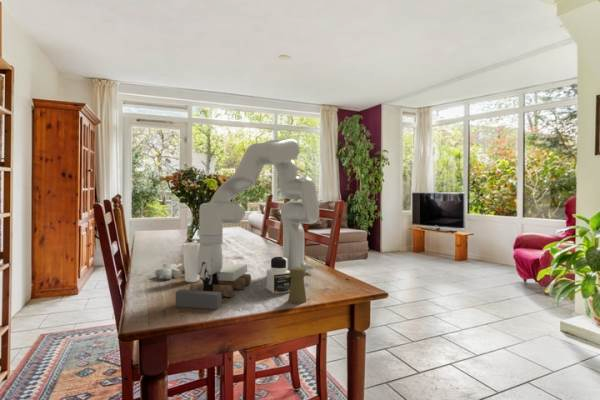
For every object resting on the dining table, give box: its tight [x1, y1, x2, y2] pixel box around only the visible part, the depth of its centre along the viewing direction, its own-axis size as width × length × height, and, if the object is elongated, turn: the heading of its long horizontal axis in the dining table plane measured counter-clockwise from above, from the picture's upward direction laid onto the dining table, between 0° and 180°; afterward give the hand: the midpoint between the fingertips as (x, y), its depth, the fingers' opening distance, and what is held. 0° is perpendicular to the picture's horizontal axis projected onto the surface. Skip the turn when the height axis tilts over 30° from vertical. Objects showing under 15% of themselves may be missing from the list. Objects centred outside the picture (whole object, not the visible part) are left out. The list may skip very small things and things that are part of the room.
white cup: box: [182, 241, 200, 283], centre depth 137 cm, size 7×7×15 cm
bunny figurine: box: [154, 263, 183, 280], centre depth 145 cm, size 10×5×15 cm
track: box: [219, 273, 252, 303], centre depth 125 cm, size 14×23×4 cm, turn 168°
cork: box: [288, 267, 307, 305], centre depth 114 cm, size 6×6×11 cm
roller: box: [188, 282, 234, 298], centre depth 116 cm, size 14×4×4 cm, turn 78°
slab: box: [206, 262, 248, 281], centre depth 130 cm, size 10×14×3 cm
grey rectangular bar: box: [175, 288, 223, 311], centre depth 108 cm, size 14×3×4 cm, turn 78°
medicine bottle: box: [266, 256, 291, 295], centre depth 126 cm, size 7×7×12 cm
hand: (211, 293), depth 116 cm, fingers closed on roller, 3 cm apart
